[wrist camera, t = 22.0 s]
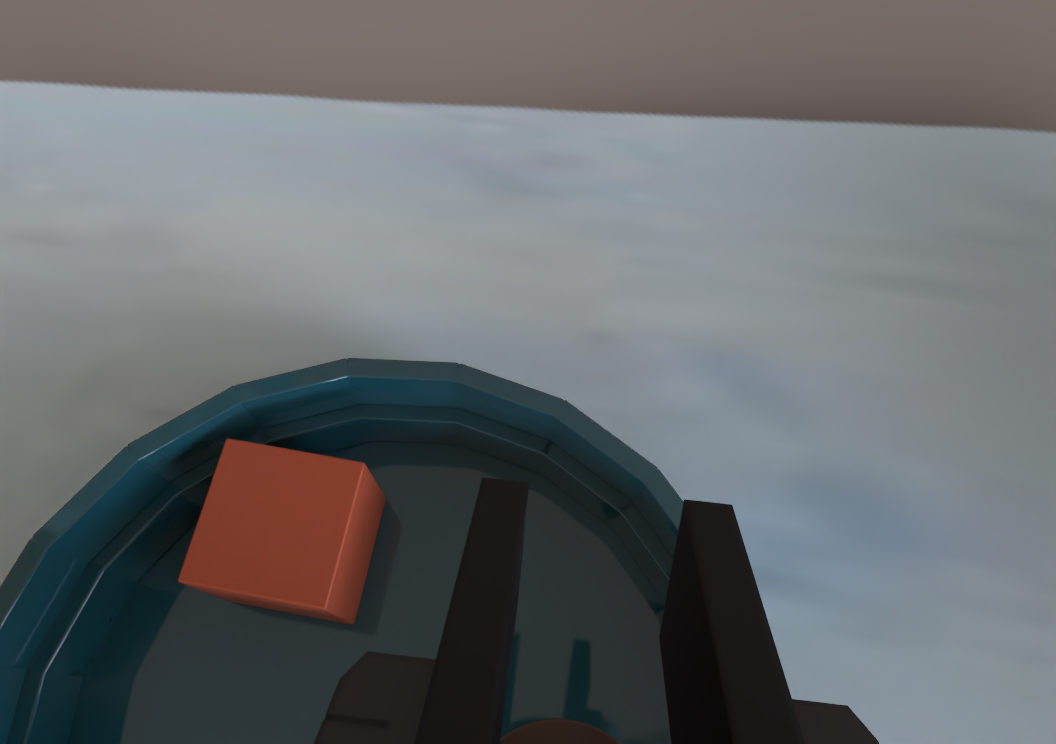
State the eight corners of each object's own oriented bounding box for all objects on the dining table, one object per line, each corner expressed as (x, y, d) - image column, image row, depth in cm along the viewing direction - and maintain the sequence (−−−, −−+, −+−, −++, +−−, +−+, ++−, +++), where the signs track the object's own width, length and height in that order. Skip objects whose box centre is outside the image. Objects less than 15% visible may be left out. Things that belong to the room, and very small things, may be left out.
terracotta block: (354, 625, 24) (325, 610, 21) (226, 601, 24) (176, 581, 21) (386, 497, 26) (365, 461, 22) (266, 475, 26) (225, 436, 22)
